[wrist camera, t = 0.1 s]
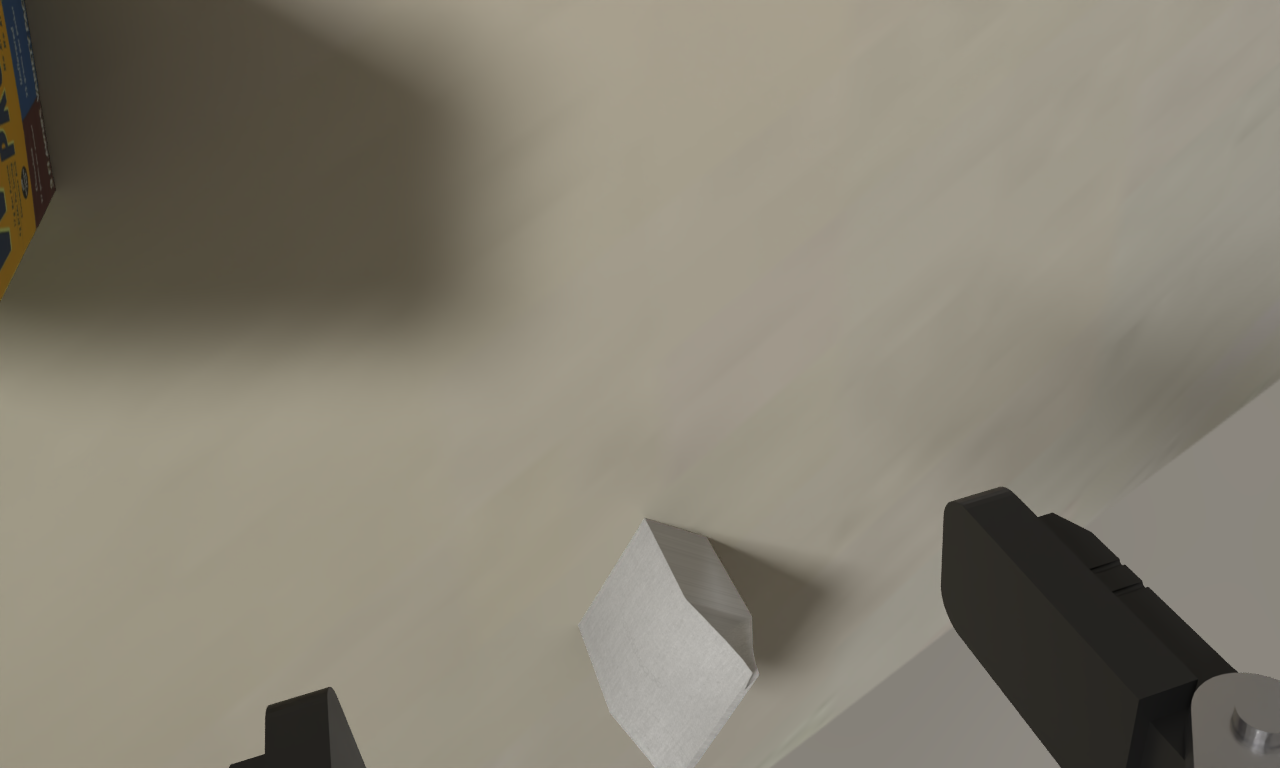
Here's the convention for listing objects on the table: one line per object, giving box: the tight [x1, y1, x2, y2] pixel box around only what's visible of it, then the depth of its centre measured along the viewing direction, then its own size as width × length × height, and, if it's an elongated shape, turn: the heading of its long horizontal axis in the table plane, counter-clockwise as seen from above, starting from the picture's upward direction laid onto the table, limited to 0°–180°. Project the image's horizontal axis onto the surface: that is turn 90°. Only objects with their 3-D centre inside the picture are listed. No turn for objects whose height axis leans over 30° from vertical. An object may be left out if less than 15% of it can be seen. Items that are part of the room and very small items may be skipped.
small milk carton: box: [578, 518, 759, 768], centre depth 48 cm, size 4×7×10 cm, turn 150°
